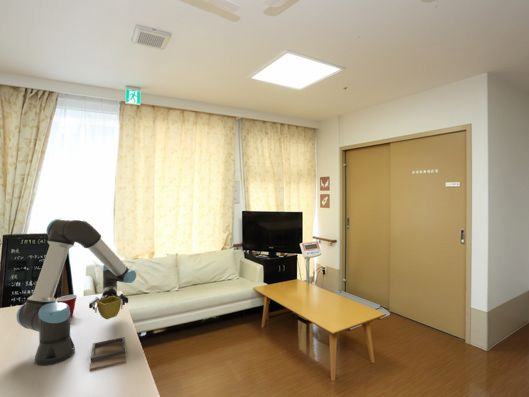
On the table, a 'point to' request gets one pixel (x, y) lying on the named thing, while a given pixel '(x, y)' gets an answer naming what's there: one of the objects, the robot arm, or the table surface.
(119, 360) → the tray
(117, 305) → the flower pot
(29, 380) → the table surface
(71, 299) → the plastic cup
